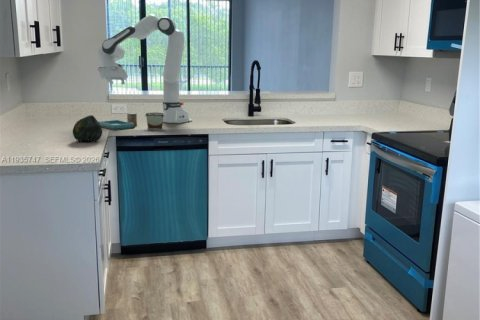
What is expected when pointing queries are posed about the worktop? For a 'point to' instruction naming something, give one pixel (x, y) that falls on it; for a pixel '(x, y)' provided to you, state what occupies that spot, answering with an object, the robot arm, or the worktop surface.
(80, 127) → the squash
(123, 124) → the tray
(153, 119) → the food container
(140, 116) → the worktop surface
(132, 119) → the walnut block
